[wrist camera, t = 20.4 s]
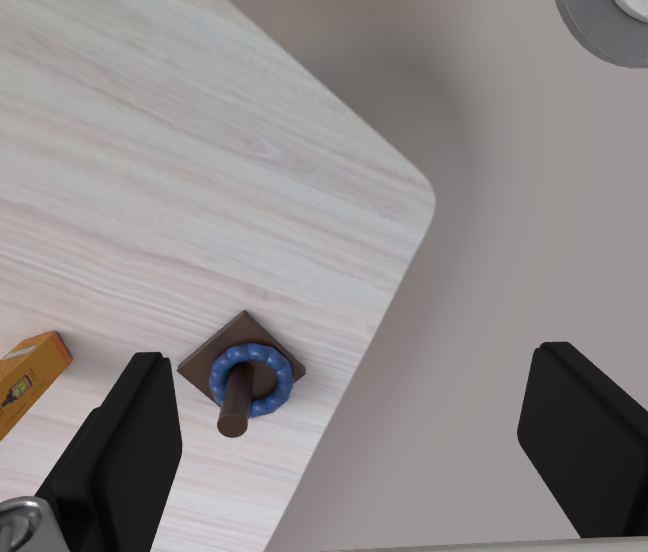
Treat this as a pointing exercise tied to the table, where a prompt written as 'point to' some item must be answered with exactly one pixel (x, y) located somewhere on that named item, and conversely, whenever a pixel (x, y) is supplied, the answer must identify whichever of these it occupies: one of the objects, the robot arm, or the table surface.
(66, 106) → the table surface
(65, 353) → the supplement box
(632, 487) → the robot arm
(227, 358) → the ring
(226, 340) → the peg
